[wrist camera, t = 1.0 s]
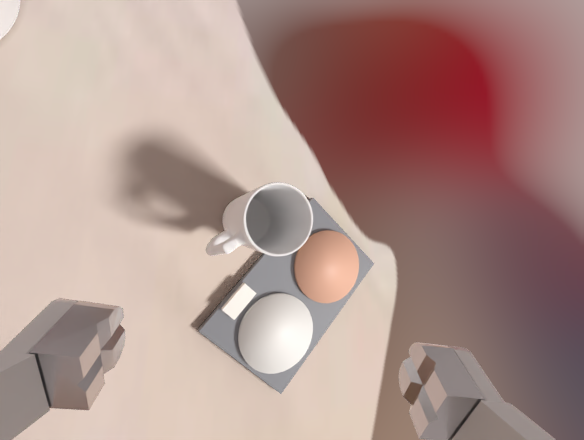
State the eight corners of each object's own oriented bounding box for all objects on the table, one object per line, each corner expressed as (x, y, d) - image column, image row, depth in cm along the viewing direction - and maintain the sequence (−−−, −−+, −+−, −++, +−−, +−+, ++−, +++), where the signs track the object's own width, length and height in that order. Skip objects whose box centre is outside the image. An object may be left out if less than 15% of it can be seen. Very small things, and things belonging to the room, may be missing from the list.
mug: (256, 185, 38) (293, 169, 27) (280, 230, 40) (324, 232, 28) (184, 222, 35) (193, 222, 24) (212, 270, 36) (233, 291, 25)
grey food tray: (197, 328, 35) (199, 334, 34) (309, 198, 41) (315, 197, 40) (278, 390, 39) (283, 397, 37) (369, 262, 45) (377, 264, 44)
